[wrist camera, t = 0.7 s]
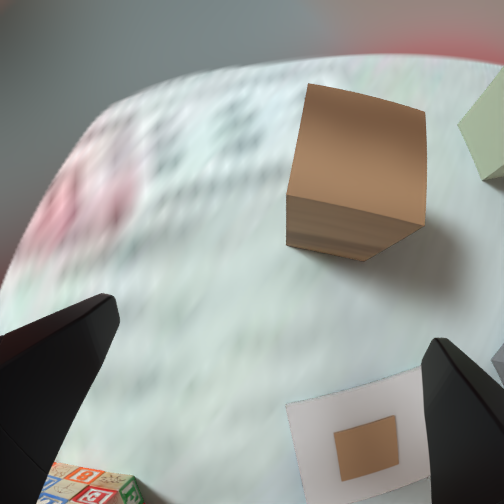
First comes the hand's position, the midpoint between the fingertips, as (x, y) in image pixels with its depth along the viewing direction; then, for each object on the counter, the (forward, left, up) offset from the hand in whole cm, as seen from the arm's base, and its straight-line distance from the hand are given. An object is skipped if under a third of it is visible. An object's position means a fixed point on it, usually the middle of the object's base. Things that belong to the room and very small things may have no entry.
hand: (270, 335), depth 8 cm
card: (-11, -4, -13) cm, 17 cm away
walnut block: (+6, -5, -13) cm, 15 cm away
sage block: (+9, -22, -13) cm, 27 cm away
